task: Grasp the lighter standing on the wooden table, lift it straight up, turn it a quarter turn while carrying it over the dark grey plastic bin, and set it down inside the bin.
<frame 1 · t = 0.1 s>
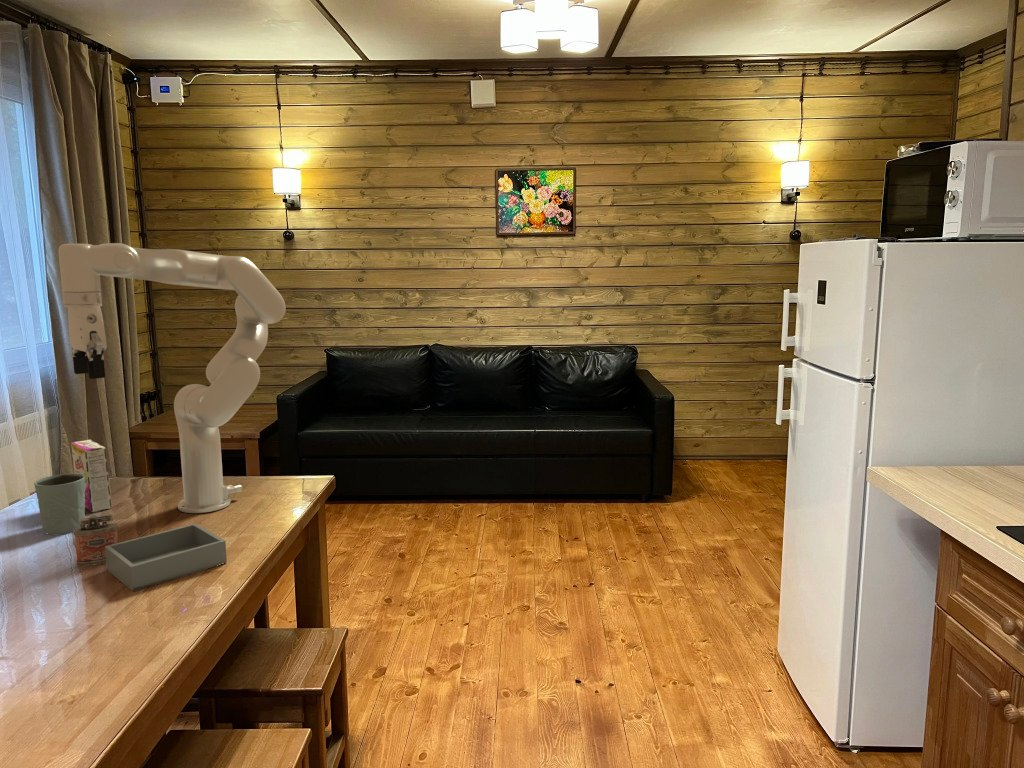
hand: (89, 375, 168), 37 cm above the table, tool pointing down, fingers open, 9 cm apart
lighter: (99, 562, 157), on the table
bin: (167, 566, 154), on the table
candy bar box: (94, 506, 191), on the table
green plant pot: (64, 528, 176), on the table
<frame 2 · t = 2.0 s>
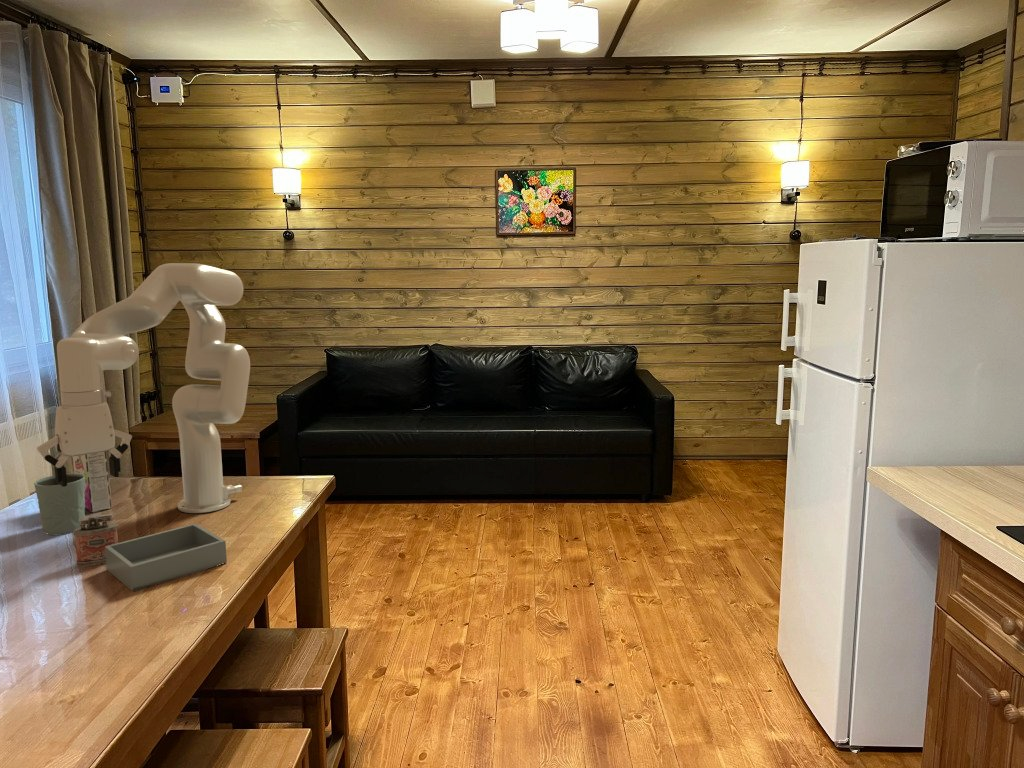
hand: (89, 480, 153), 18 cm above the table, tool pointing down, fingers open, 9 cm apart
nothing on the table moved.
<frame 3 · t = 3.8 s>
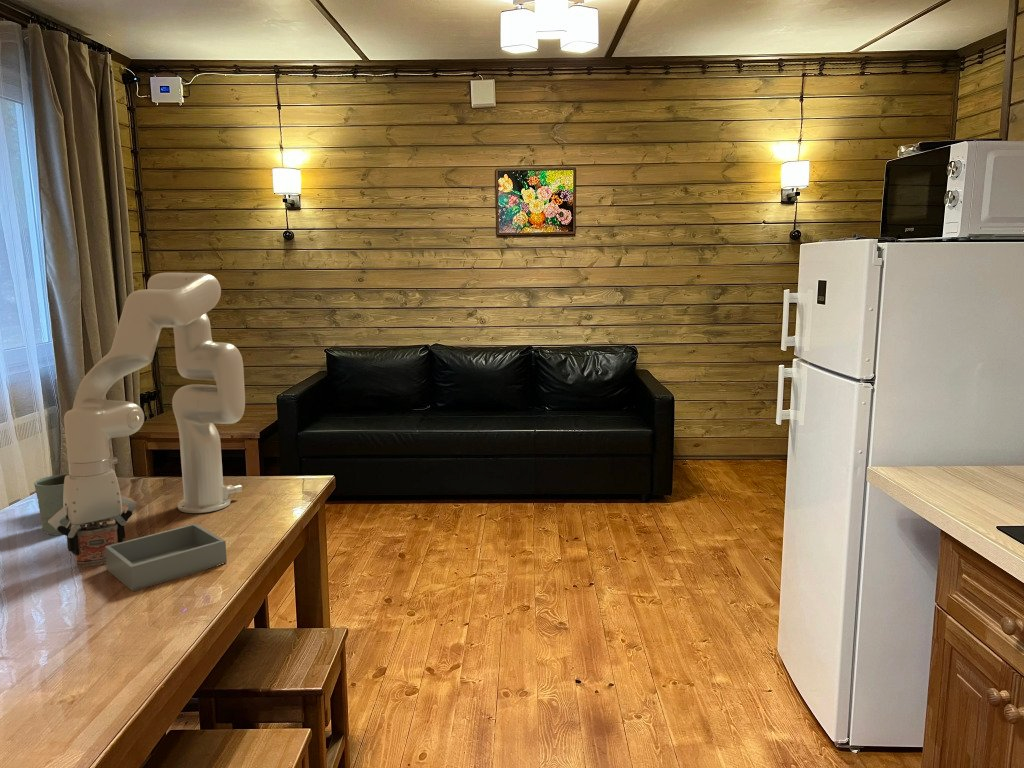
hand: (97, 547, 156), 3 cm above the table, tool pointing down, fingers closed on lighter, 7 cm apart
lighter: (99, 562, 157), on the table, touching gripper
everything else where it was.
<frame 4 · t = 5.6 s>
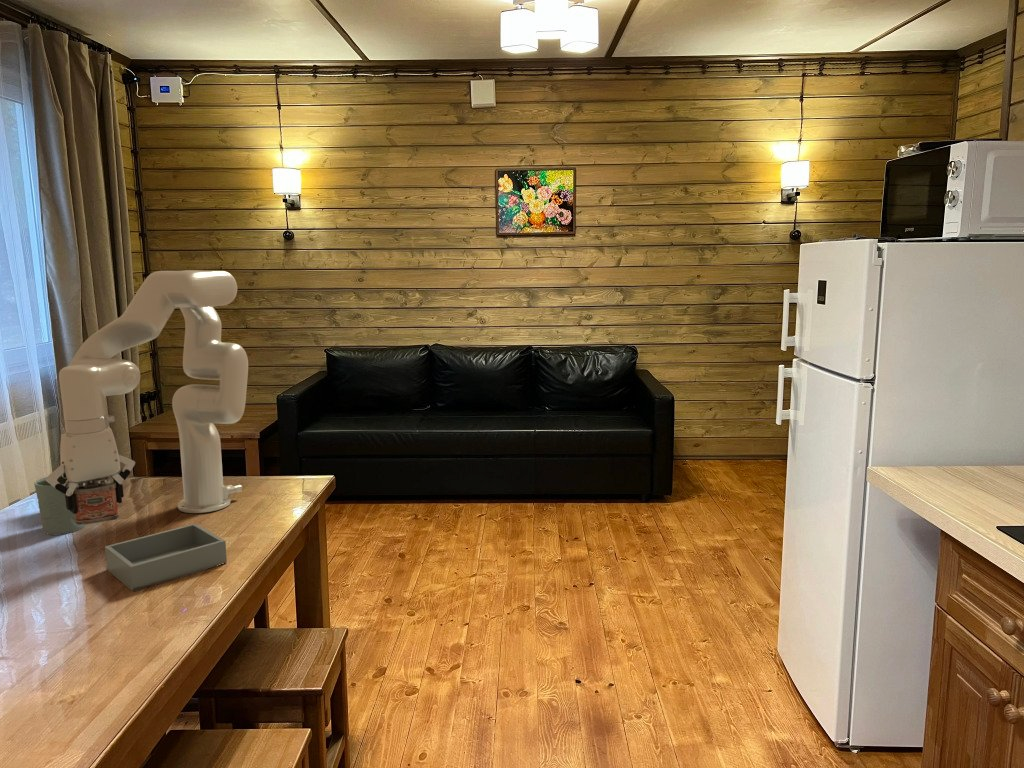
hand: (96, 506, 155), 12 cm above the table, tool pointing down, fingers closed on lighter, 7 cm apart
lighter: (98, 521, 156), point 9 cm above the table, touching gripper
everything else where it was.
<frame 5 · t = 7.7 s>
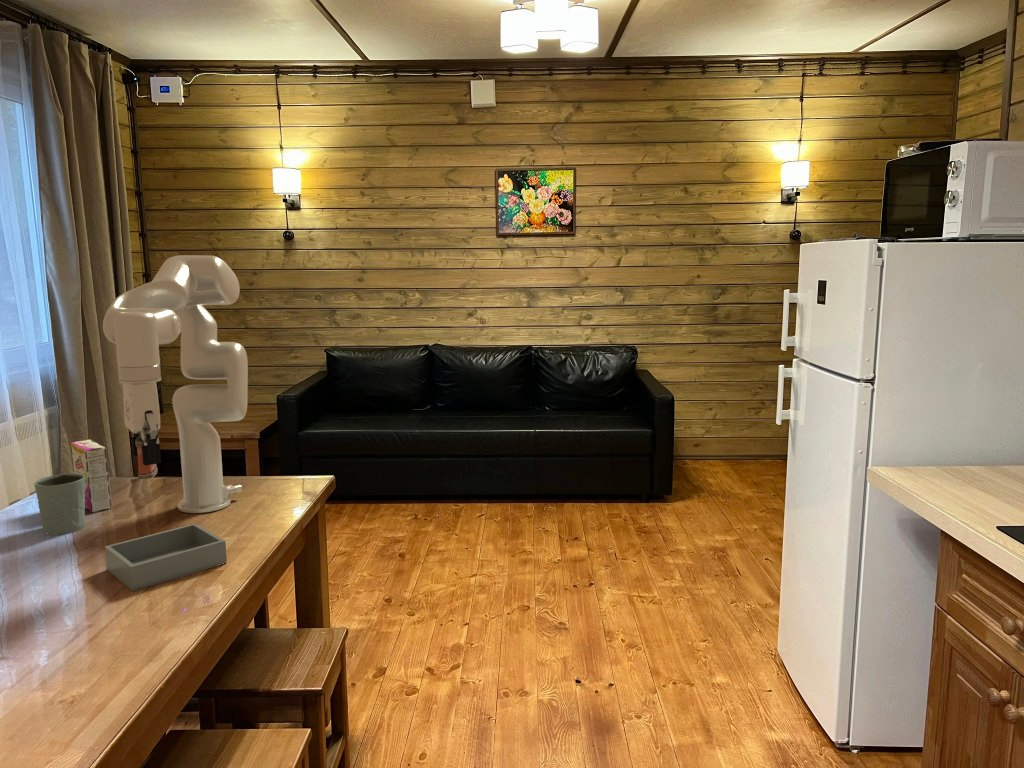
hand: (147, 458, 151), 23 cm above the table, tool pointing down, fingers closed on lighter, 7 cm apart
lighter: (148, 474, 151), point 20 cm above the table, touching gripper
everything else where it was.
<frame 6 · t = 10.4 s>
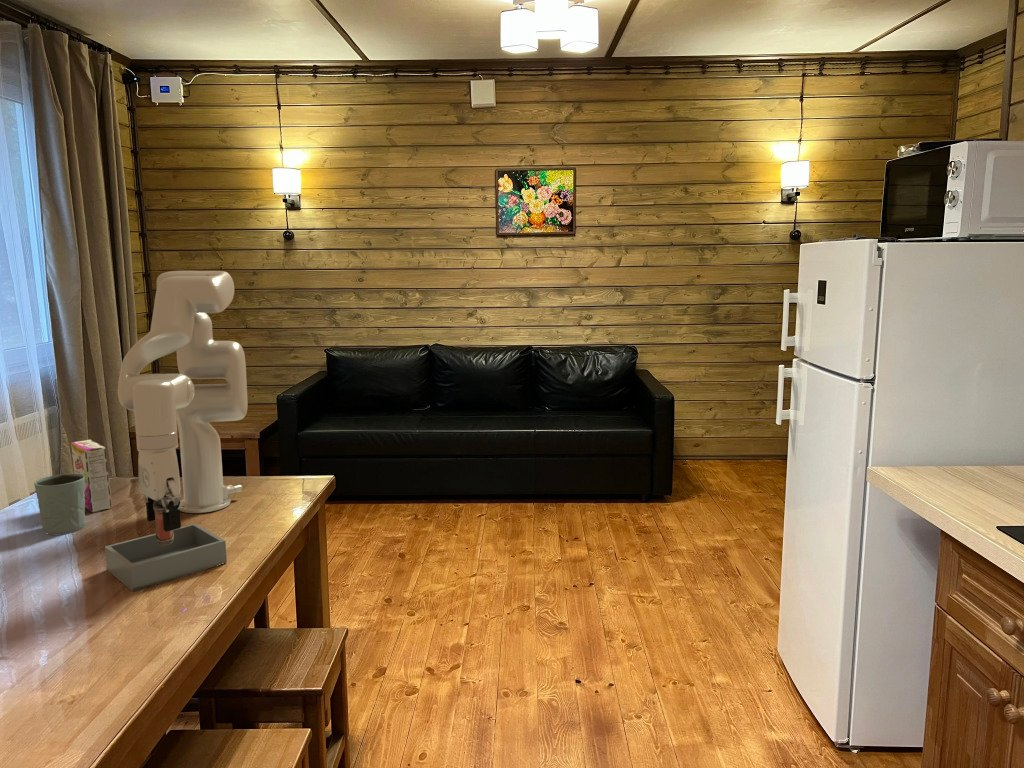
hand: (163, 523, 152), 9 cm above the table, tool pointing down, fingers closed on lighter, 7 cm apart
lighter: (164, 539, 153), point 6 cm above the table, touching gripper
everything else where it was.
when the fingers open (5 cm above the table, at t = 11.9 s): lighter drops 2 cm, resting on bin.
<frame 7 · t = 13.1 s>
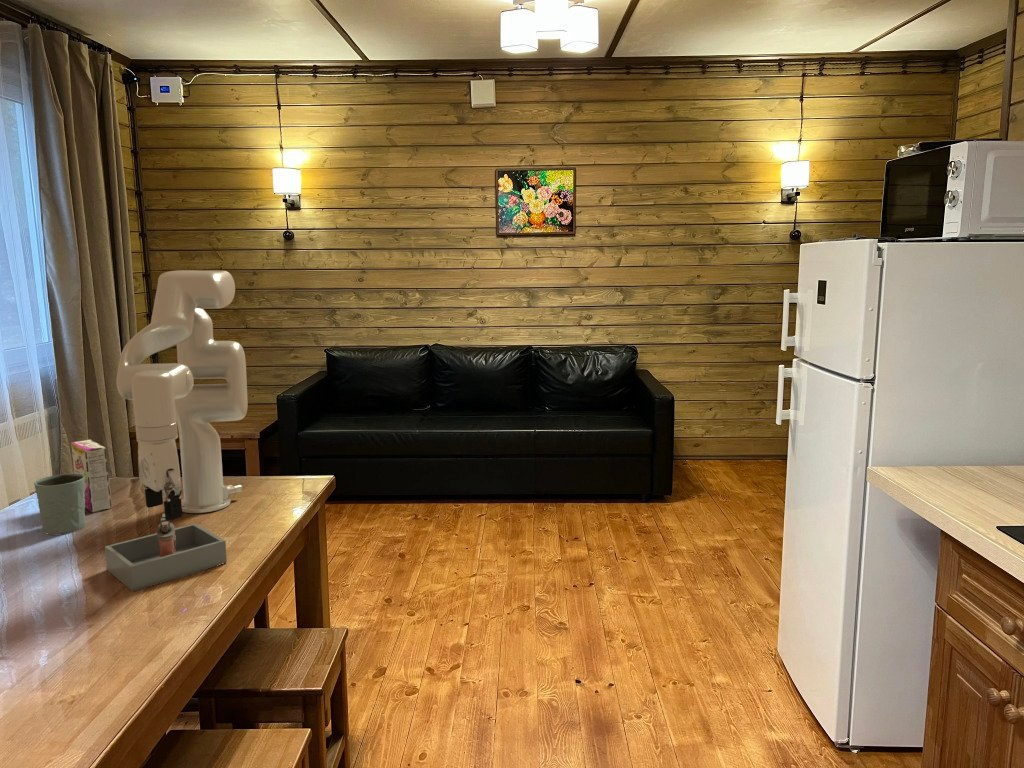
hand: (164, 512, 153), 12 cm above the table, tool pointing down, fingers open, 9 cm apart
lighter: (168, 564, 154), resting on bin
everything else where it was.
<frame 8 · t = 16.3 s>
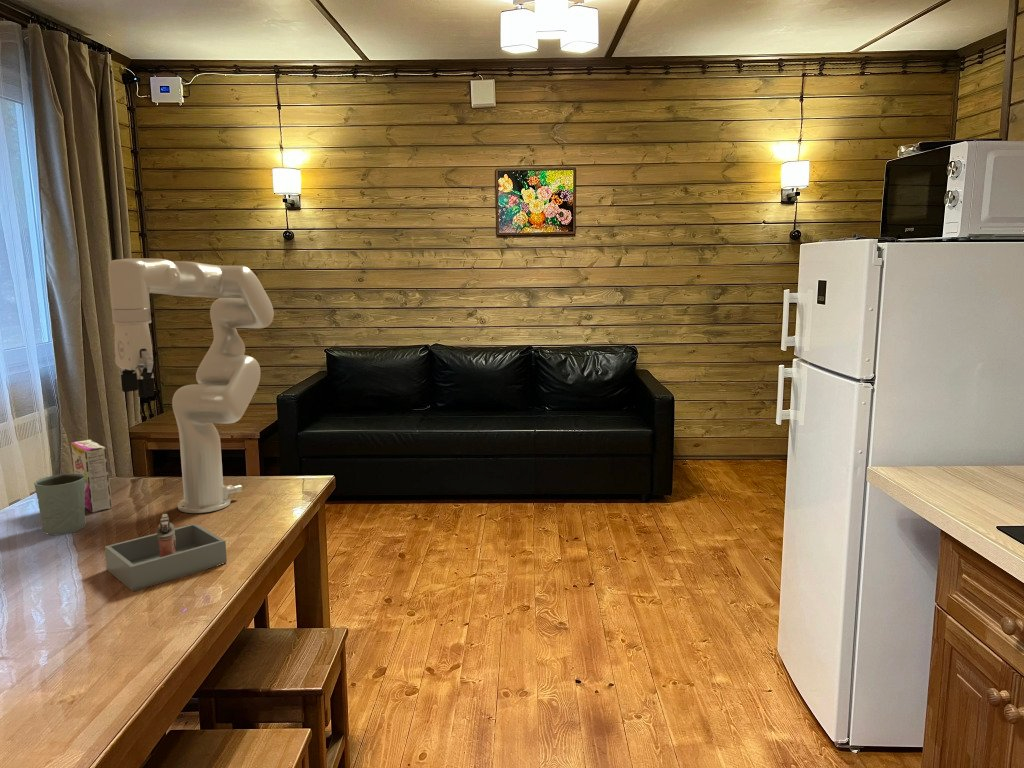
hand: (138, 393, 165), 33 cm above the table, tool pointing down, fingers open, 9 cm apart
nothing on the table moved.
at the end: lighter inside the target area on the bin (0.3 cm from its centre), point 0.4 cm above the bin's base; the gripper is holding nothing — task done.
